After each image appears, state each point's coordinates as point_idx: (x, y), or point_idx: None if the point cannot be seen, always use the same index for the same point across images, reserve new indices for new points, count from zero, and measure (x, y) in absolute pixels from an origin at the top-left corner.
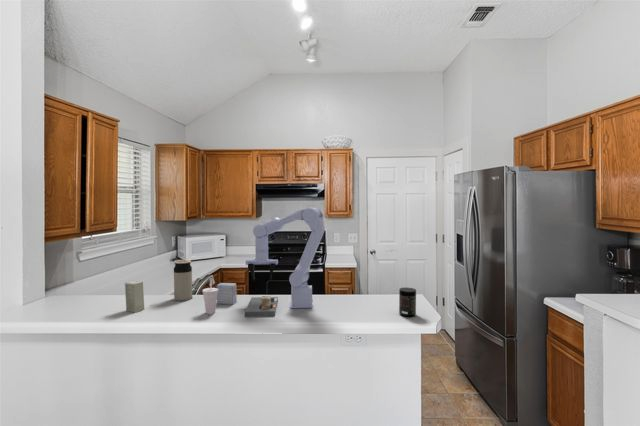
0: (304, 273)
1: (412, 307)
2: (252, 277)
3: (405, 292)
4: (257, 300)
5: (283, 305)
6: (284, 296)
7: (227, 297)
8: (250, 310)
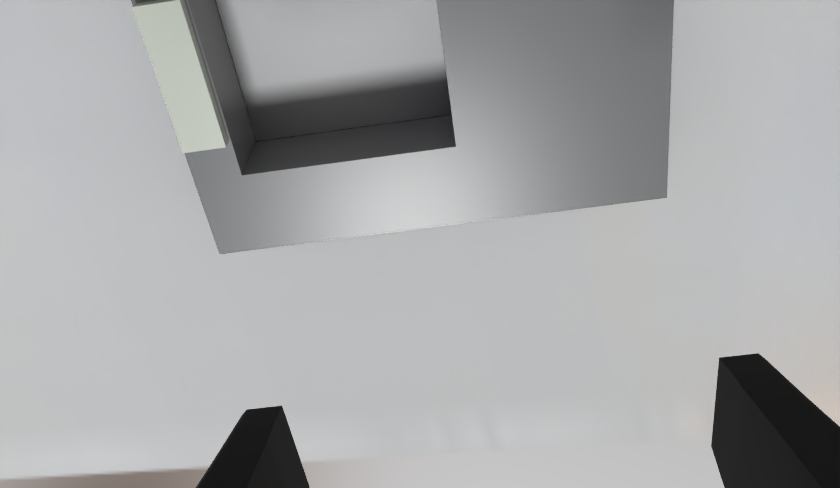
0: None
1: None
2: (809, 410)
3: None
4: (526, 28)
5: (53, 14)
6: (219, 409)
7: None
8: None
